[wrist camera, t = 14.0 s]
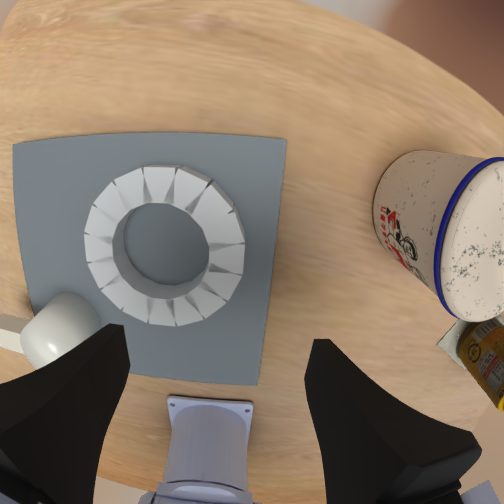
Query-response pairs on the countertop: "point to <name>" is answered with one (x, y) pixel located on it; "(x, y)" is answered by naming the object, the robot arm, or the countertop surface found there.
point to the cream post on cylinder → (50, 329)
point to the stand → (157, 242)
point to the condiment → (480, 353)
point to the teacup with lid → (447, 227)
